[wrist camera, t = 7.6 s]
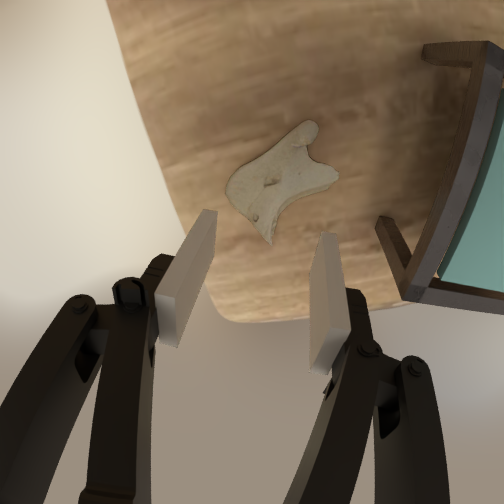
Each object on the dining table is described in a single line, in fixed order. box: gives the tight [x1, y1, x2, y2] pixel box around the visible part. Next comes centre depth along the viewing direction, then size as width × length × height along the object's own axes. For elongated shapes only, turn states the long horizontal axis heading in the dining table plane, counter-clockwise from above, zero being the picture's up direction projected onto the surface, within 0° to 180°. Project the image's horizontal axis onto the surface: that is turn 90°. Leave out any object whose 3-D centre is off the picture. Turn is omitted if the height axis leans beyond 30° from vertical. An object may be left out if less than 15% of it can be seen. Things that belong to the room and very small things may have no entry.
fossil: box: [225, 120, 340, 246], centre depth 27 cm, size 7×11×3 cm, turn 135°
